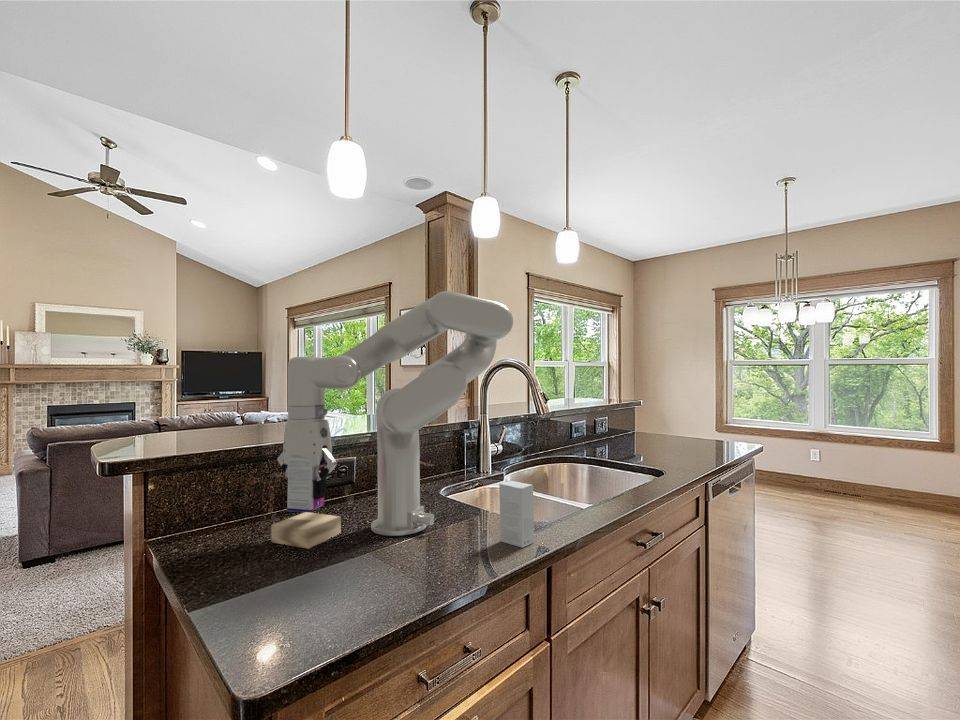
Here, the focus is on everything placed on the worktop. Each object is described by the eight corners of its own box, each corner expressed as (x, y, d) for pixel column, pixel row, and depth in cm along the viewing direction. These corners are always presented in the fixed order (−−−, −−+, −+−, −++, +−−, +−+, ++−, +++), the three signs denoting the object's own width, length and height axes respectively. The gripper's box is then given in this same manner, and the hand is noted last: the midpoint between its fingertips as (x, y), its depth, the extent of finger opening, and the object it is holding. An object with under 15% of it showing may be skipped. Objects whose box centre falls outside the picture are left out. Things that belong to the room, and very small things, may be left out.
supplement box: (311, 512, 102) (311, 457, 102) (286, 511, 103) (286, 457, 104) (325, 505, 108) (325, 453, 108) (301, 503, 109) (301, 452, 109)
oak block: (340, 534, 108) (340, 516, 108) (308, 550, 99) (308, 530, 99) (305, 529, 112) (305, 511, 112) (271, 544, 103) (271, 524, 103)
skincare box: (534, 542, 101) (534, 484, 101) (522, 548, 98) (521, 488, 98) (512, 536, 105) (511, 480, 105) (499, 541, 102) (498, 483, 102)
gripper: (350, 413, 106) (350, 496, 106) (289, 411, 113) (289, 489, 113) (326, 416, 99) (326, 505, 99) (263, 414, 106) (262, 497, 106)
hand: (306, 495), depth 106 cm, fingers closed on supplement box, 6 cm apart
